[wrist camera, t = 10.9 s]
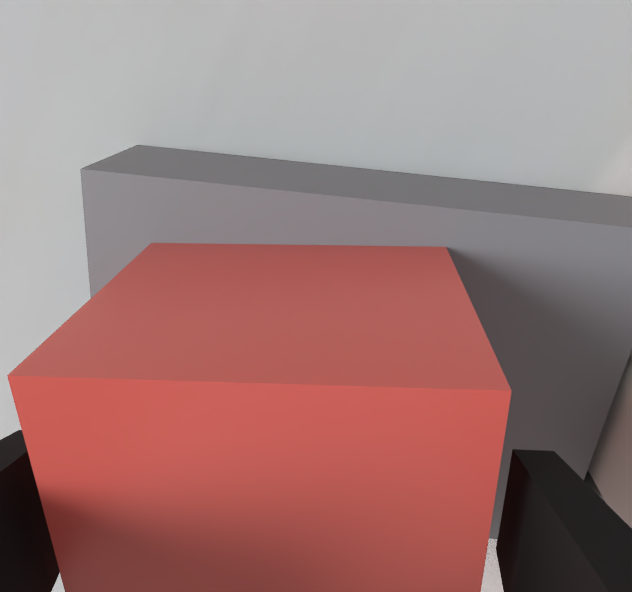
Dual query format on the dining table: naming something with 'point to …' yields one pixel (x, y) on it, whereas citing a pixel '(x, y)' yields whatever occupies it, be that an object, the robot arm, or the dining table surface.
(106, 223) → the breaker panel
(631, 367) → the block
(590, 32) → the dining table surface
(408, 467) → the cap
